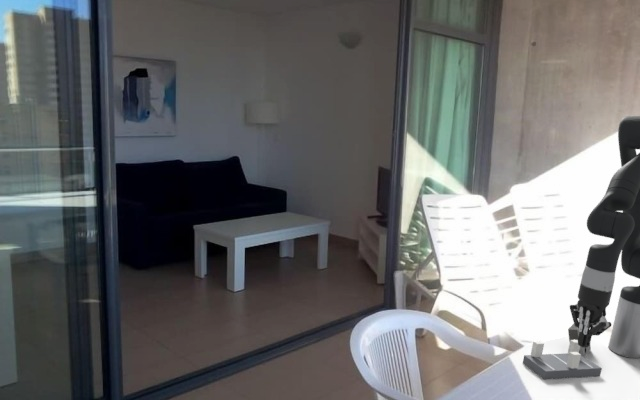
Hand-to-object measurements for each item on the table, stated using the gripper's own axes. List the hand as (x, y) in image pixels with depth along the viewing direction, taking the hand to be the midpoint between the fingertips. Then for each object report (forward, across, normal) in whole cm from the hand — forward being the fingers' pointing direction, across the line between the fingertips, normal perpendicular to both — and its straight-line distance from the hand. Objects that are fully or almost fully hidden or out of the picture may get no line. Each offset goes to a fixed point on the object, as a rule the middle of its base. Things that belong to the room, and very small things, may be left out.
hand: (582, 346), depth 146 cm
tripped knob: (+8, -2, 0) cm, 8 cm away
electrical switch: (+10, -16, +15) cm, 24 cm away
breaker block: (+10, -6, 0) cm, 12 cm away
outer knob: (+8, -9, -6) cm, 14 cm away
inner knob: (+8, -10, +7) cm, 14 cm away
